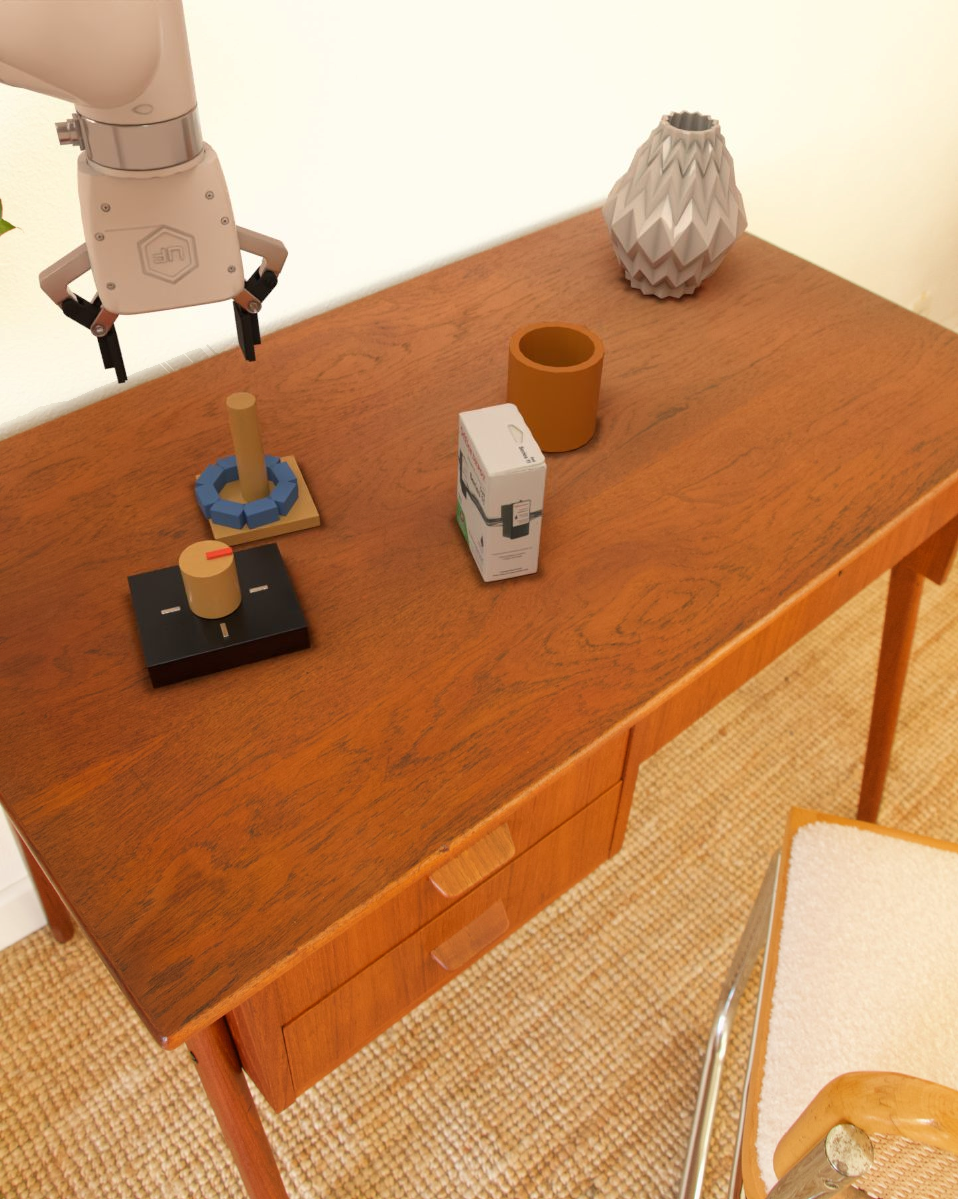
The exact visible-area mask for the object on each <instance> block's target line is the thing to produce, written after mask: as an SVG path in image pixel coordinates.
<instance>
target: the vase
mask: <svg viewBox="0 0 958 1199" xmlns="http://www.w3.org/2000/svg"><path fill="white" fill-rule="evenodd" d="M721 132H722V131H721V125H720V121H719V119H714V118H712V116H711V114H702V113H701V112H699V111H698V110H697V111H693V112H690V111H688V110H685V109H682V110H681V111H680V112H677V111H673V110H672V111H670V113H669V114H662V115H661V118H660V121H659V123H658V125H657V127H655V128H653V129H652V130H651V132H650V134H649V137H648V139H647V140H645V141H644V142H643V143H642V144H641V145H640V146H639V147H637V149H636V151H635V153H634V155H633V158H632V160H631V163H630V165H629V167H628V169H627V171H626V172H625V173H624V174H623V175H622V176H620V178H618V179H617V180H616V181H615V182H614V184H613V187H612V188H611V190H610V191H609V193H608V195H607V198H606V200H605V202H604V204H603V206H602V208H601V215H602V217H603V220H604V223H605V225H606V228H607V231H608V234H609V238H610V242H611V243H610V244H611V247H612V249H613V251H614V254H615V256H616V259H617V262H618V264H619V266H620V268H622V269H623V270H624V274H625V280H627V281H630V288H633V289H638V290H640V291H641V293H642V295H647V296H648V295H654V296H656V297H657V298H659V299H662V300H663V299H664V298H667V297H672V298H675V299H680V298H681V297H682V296H683V295H693V294H694V292H695V289H696V288H698V287H700V286H701V284H702V281H703V280H706V279H709V278H711V277H712V276H713V275H714V274H715V272H716V271H717V269H718V268H719V266H721V264H722V263H723V261H724V260H725V259H726V257H727V255H728V254H729V252H730V251H731V250H732V249H733V247H734V246H735V245H736V243H737V242H738V240H739V239H740V238H741V237H742V235H743V233H744V232H745V230H746V229H747V228H748V225H749V223H748V218H747V213H746V209H745V204H744V200H743V195H742V193H741V191H740V190H739V188H738V186H737V184H736V173H735V165H734V164H735V163H734V158H733V156H732V155H731V153H730V151H729V149H728V148H727V145H726V138H725V136H724V135H723V134H722V133H721Z"/></svg>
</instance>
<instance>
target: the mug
mask: <svg viewBox="0 0 958 1199" xmlns="http://www.w3.org/2000/svg"><path fill="white" fill-rule="evenodd" d="M605 350H606V349H605V345H604V343H603V340H602V339H601V338H600V337H599V336H598V334H596V333H595V332H594V331H591V330H589V328H588V326H586V325H584V324H580V323H579V324H574V323H571V322H570V323H568V322H564V321H563V322H562V321H542V322H539V323H532V324H529V325H526V326H524V327H522V328H521V329H518V331H516V332H515V333H514V334H513V335H512V336H511V338H510V340H509V343H508V361H507V362H508V364H507V383H506V384H507V385H506V386H507V388H506V404H507V403H510V404H514V405H515V406H516V407H517V409H518V411H519V413H520V414H521V416H522V417H523V419H524V422H525V424H526V425H527V427H528V428H529V430H530V432H531V434H532V436H533V438H534V440H535V441H536V443H537V444H538V446H539V448H540V450H541V452H545V453H563V452H568V451H572V450H576V449H578V448H580V447H582V446H584V445H587V444H588V442H589V441H590V440H591V439H592V438H593V437H594V434H595V430H596V425H597V415H598V410H599V408H598V407H599V401H600V400H599V399H600V391H601V382H602V375H603V366H604V359H605V358H604V357H605Z"/></svg>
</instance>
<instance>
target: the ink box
mask: <svg viewBox="0 0 958 1199" xmlns="http://www.w3.org/2000/svg"><path fill="white" fill-rule="evenodd" d="M457 450H458V452H457V454H458V455H457V482H456V496H457V497H456V498H457V499H456V522H457V524H458V526H459V528H460V530H461V533H462V535H463V537H464V540H465V541H466V544H467V547H468V549H469V551H470V553H471V555H472V557H473V560H474V562H475V564H476V566H477V568H478V571H479V573H480V575H481V578H482V579H483V581H484V582H485V583H490V582H495V581H501V580H507V579H512V578H517V577H521V576H527V575H530V574H535V573H538V567H539V554H540V545H541V544H540V543H541V532H542V522H543V510H544V501H545V500H544V499H545V490H546V489H545V488H546V481H547V480H546V479H547V469H548V467H547V463H546V457H545V455H544V454H543V451H541V450H540V448H539V446H538V444H537V443H536V441H535V440H534V438H533V436H532V434H531V432H530V430H529V428H528V427H527V425H526V424H525V422H524V419H523V417H522V416H521V414H520V413H519V411H518V409H517V407H516V406H515V405H514V404H510V403H507V402H506V403H503V404H497V405H492V406H488V407H483V408H478V409H474V410H473V409H472V410H469V411H461V412H459V413H458V448H457Z"/></svg>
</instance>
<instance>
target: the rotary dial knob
mask: <svg viewBox="0 0 958 1199" xmlns="http://www.w3.org/2000/svg"><path fill="white" fill-rule="evenodd" d="M233 552H234V551H233V548H232V546H228V545H226V544H224V543H222V542H219V541H215V540H212V539H211V540H209V539H208V540H207V539H206V540H201V541H197V542H194V543H193V544H190V545H188V546H187V547H186V548H185V549H184V550H183V551H182V552H181V554H180V555H179V558H178V565H179V567H180V571H181V575H182V579H183V583H184V587H185V591H186V595H187V599H188V603H189V606H190V609H191V610H192V612H193V613H195V614H196V615H198V616H200V617H203V618H207V619H216V618H221V617H224V616H227V615H229V614H231V613H232V612H234V611H235V610H236V609H237V608H238V606H239V605H240V603H241V599H242V596H241V591H240V586H239V580H238V575H237V570H236V565H235V560H234V555H233Z"/></svg>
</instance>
